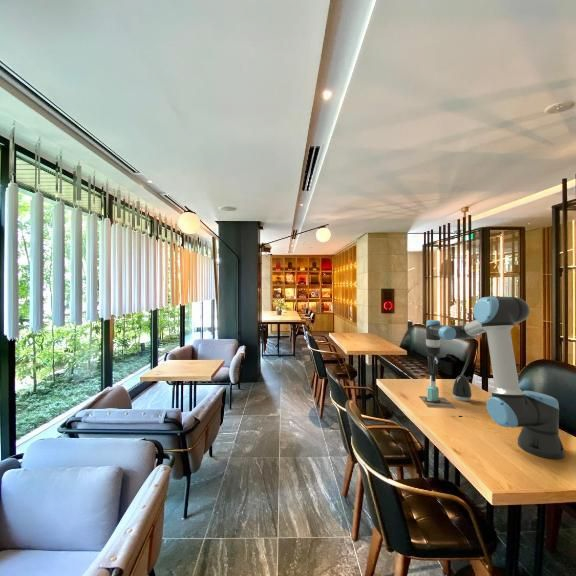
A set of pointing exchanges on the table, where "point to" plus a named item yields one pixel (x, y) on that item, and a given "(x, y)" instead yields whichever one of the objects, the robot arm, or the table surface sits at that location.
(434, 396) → the cap
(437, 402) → the post
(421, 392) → the table surface
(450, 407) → the board
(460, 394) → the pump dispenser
